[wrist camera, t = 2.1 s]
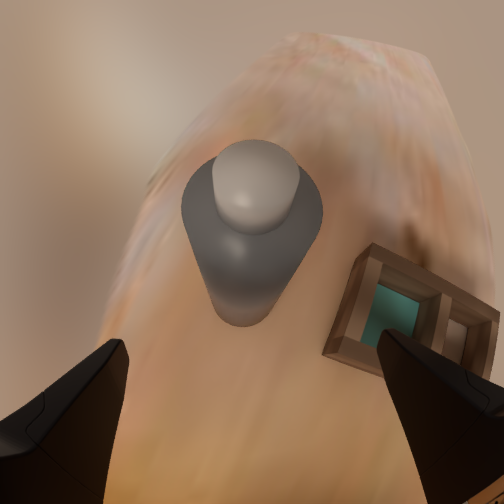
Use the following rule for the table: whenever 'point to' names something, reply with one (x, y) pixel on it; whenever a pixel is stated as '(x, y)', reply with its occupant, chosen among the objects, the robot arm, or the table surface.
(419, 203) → the table surface
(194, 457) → the table surface
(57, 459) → the robot arm
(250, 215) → the slate plug
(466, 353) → the box
